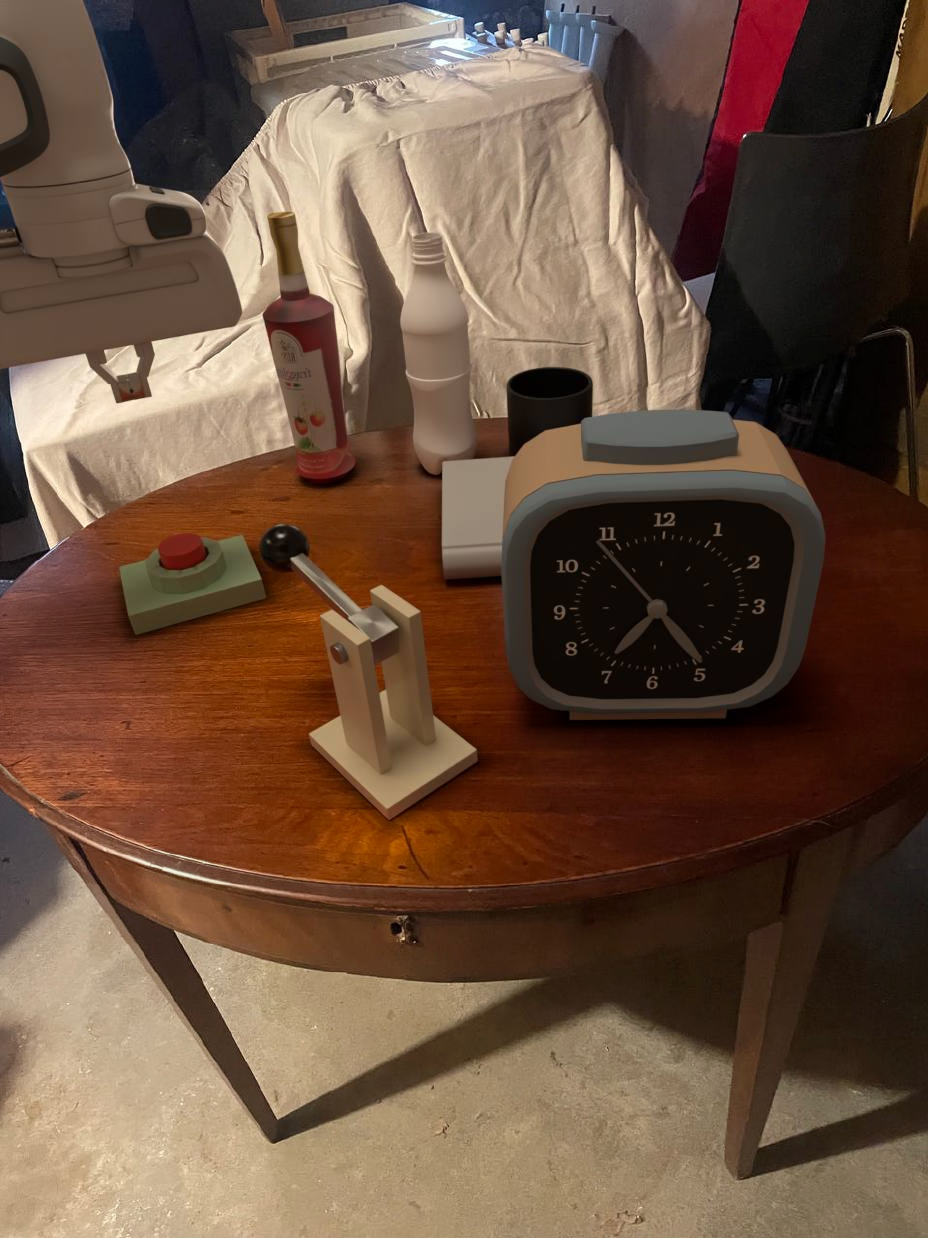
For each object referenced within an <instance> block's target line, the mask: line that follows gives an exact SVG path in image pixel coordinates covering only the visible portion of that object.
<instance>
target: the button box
mask: <svg viewBox="0 0 928 1238" xmlns="http://www.w3.org/2000/svg"><path fill="white" fill-rule="evenodd" d="M200 537H201V536H200ZM201 538H202V541H203V544H204V548H205V551H206V559H205V561H203V562H201V563H200V564H198V565H196V566H195V567H192V568H188V569H184V570H167V569H165V568H164V567H163V564H162V561H161V558H160V555H159V552H158V548H156V549H154V550H153V551H151V553H150V554H149V556H148V557H147V558H146V559H144V560H140V561H135V562H132V563H128V564H125V565H120V566H119V567H118V570H119V575H120V580H121V585H122V591H123V596H124V601H125V606H126V611H127V615H128V616H127V617H128V619H129V622H130V625H131V627H132V630H133V632H134V635H135V636H138V635H141V634H145V633H149V632H151V631H155V630H159V629H162V628H166V627H169V626H173V625H177V624H181V623H183V622H186V621H191V620H194V619H198V618H202V617H205V616H208V615H212V614H215V613H219V612H223V611H226V610H230V609H233V608H236V607H240V606H244V605H247V604H250V603H255V602H259V601H261V600H266V599H267V595H266V591H265V587H264V583H263V579H262V576H261V574H260V572H259V570H258V568H257V565H256V563H255V560H254V558H253V556H252V553H251V551H250V549H249V547H248V545H247V542H246V540H245V538H244V535H243V534H240V535H235V536H233V537H229V538H225V539H220V540H214V539H211V538H209V537H206V536H202V537H201Z"/></svg>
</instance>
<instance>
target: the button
mask: <svg viewBox="0 0 928 1238" xmlns="http://www.w3.org/2000/svg"><path fill="white" fill-rule="evenodd" d="M157 549H158V552H159V555H160V558H161V561H162V564H163V567H164V568H165V569H167V570H184V569H188V568H192V567H195V566H196V565H198V564H200V563H201V562H203V561H205V559H206V551H205V548H204V544H203V541H202V538H201V536H200V535H199V534H197V533H194V532H182V533H177V534H174V535H171V536H168V537H167V538H165V539H163V540H162V541H161V542H160V543H159V545H158V547H157Z"/></svg>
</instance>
